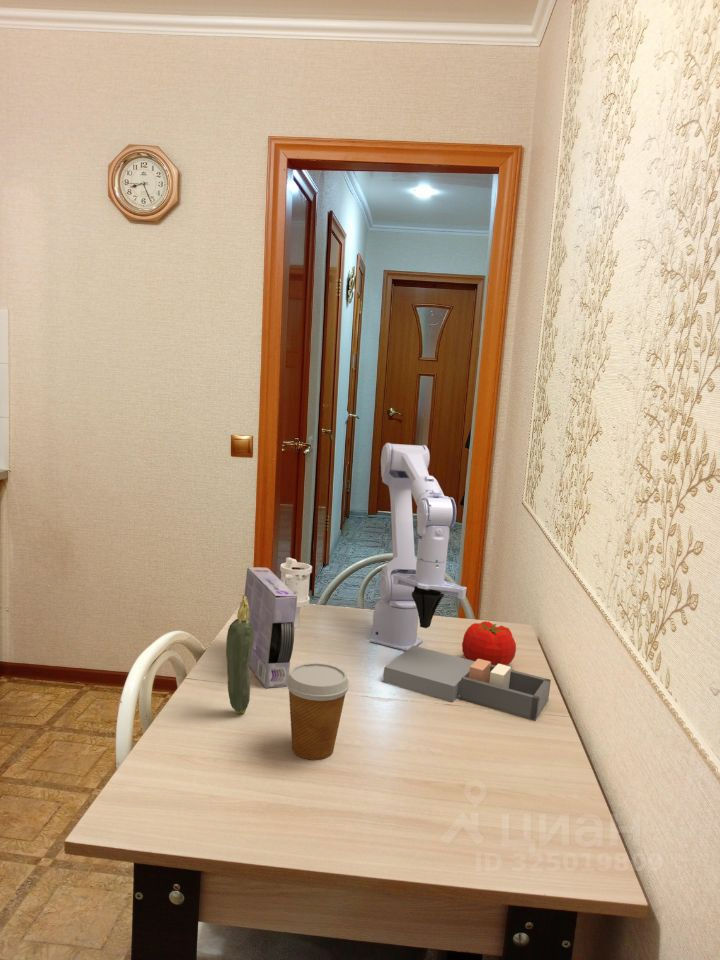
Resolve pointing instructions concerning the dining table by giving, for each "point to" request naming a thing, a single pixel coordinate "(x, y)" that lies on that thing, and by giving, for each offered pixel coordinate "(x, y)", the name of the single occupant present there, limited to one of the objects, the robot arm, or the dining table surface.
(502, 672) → the tile cream
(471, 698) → the box
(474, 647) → the tomato
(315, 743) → the disposable coffee cup
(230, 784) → the dining table surface
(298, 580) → the strainer
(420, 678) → the slate board
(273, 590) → the cake pan box
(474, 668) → the tile terracotta
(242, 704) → the vegetable
